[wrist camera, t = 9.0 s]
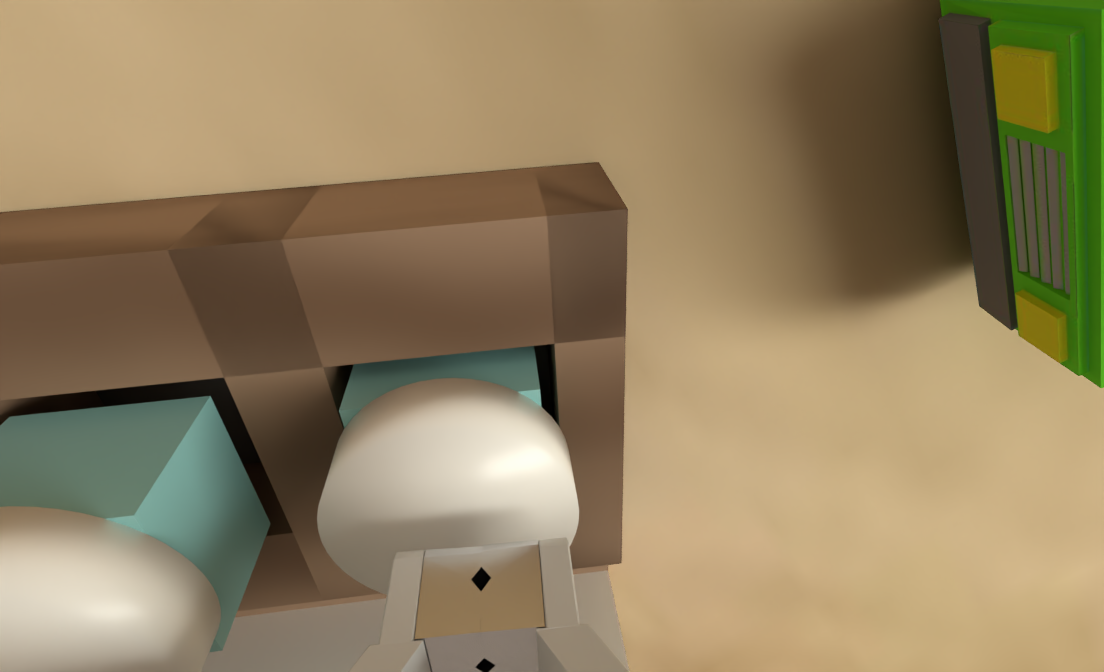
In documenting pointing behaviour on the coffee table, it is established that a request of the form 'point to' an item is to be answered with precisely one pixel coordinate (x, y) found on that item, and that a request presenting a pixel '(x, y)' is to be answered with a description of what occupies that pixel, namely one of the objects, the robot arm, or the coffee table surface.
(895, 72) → the coffee table surface
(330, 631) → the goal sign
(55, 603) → the button
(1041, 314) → the toy car
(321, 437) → the walnut button board
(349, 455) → the button
